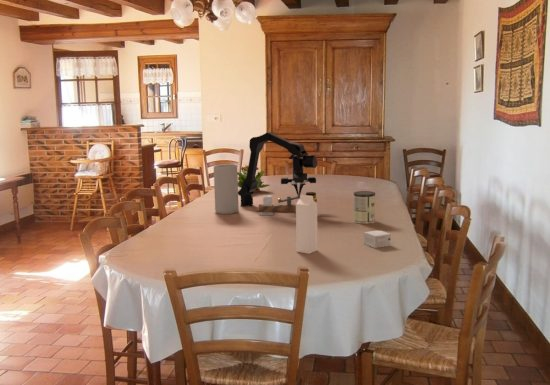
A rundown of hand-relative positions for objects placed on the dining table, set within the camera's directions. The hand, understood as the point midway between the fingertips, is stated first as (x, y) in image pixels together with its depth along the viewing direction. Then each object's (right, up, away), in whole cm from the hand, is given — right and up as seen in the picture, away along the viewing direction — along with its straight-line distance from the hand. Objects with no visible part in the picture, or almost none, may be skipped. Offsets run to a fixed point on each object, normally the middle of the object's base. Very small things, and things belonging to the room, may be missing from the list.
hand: (298, 196), depth 288 cm
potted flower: (-27, +3, +67) cm, 72 cm away
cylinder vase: (-39, -9, -1) cm, 39 cm away
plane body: (-12, -8, +1) cm, 14 cm away
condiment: (+5, -10, -14) cm, 18 cm away
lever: (-5, -2, 0) cm, 5 cm away
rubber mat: (-17, -9, -8) cm, 21 cm away
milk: (0, -21, -80) cm, 82 cm away
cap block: (-17, -5, 0) cm, 17 cm away
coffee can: (+30, -12, -30) cm, 44 cm away
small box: (+28, -19, -72) cm, 80 cm away
